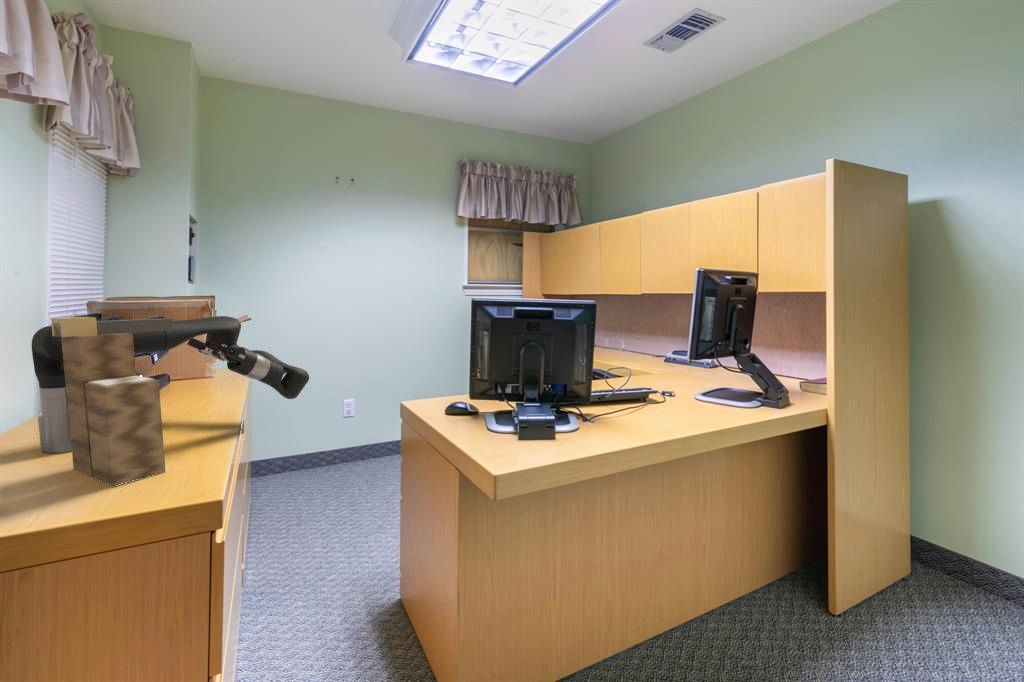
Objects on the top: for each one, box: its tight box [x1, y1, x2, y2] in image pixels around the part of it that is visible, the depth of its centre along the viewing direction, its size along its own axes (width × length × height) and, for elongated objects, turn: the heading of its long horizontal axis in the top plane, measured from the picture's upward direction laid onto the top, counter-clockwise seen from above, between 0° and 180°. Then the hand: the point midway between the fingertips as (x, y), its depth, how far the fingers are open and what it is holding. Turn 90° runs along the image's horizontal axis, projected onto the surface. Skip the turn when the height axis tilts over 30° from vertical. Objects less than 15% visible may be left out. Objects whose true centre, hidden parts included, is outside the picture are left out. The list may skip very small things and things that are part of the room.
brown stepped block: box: [61, 333, 166, 487], centre depth 111 cm, size 10×21×32 cm, turn 60°
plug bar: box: [50, 316, 173, 337], centre depth 115 cm, size 22×6×4 cm, turn 150°
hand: (197, 341), depth 131 cm, fingers open, 8 cm apart
